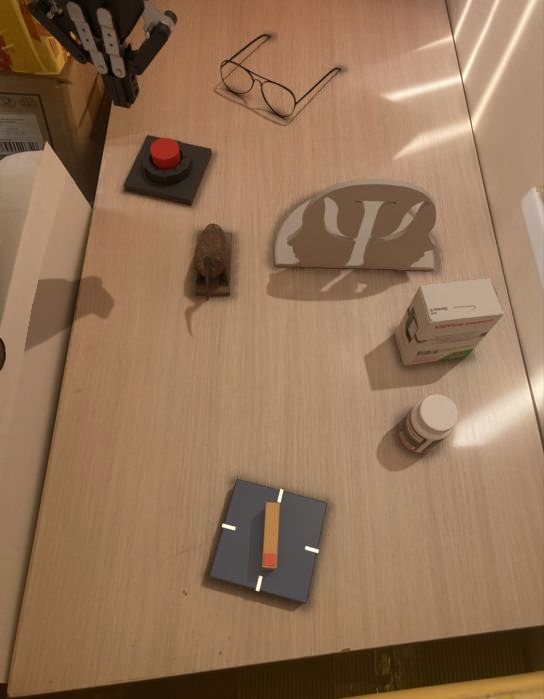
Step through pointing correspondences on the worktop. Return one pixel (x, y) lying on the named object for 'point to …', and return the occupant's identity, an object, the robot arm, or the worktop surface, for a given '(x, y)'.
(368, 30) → the worktop surface
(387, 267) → the psi symbol sculpture
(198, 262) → the figurine
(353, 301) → the worktop surface
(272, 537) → the orange wooden bar
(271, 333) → the worktop surface
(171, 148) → the button
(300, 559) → the plate
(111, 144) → the worktop surface
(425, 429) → the pill bottle
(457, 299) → the ink box
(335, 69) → the glasses
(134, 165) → the button base
